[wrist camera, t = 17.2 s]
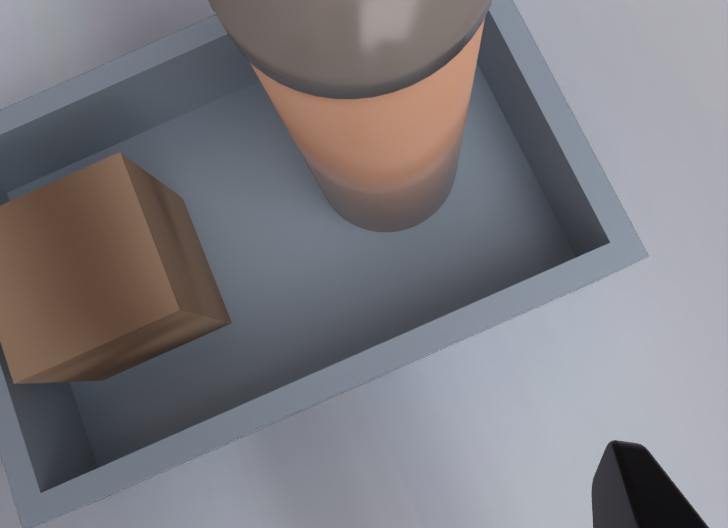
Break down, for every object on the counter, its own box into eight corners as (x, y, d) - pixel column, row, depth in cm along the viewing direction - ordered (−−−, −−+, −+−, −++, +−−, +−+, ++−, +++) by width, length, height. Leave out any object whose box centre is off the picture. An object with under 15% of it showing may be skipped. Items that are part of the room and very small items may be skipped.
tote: (94, 501, 22) (23, 531, 18) (-9, 187, 24) (-92, 151, 20) (606, 276, 22) (649, 256, 18) (454, -18, 24) (462, -95, 20)
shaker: (388, 265, 22) (348, 138, 10) (286, 168, 23) (130, -61, 11) (490, 160, 22) (575, -92, 10) (384, 69, 23) (345, -266, 11)
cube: (102, 380, 22) (13, 383, 17) (58, 253, 23) (-38, 222, 18) (231, 323, 22) (179, 309, 17) (183, 198, 23) (120, 151, 18)
